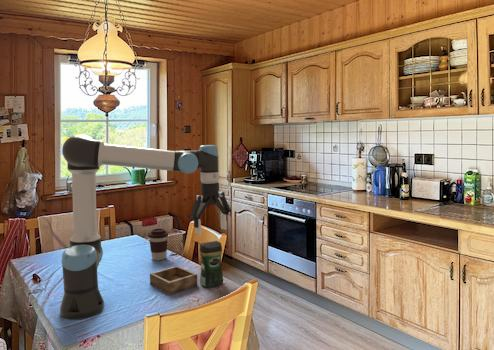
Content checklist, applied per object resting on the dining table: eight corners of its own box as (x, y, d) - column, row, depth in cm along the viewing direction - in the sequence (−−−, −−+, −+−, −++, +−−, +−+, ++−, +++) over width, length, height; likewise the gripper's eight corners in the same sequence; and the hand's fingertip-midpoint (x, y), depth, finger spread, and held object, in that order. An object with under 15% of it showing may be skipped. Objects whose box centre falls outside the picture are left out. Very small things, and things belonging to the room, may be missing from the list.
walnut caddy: (169, 294, 167) (169, 282, 166) (150, 284, 178) (149, 273, 177) (197, 285, 177) (197, 274, 176) (177, 276, 187) (177, 265, 187)
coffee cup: (146, 257, 215) (145, 229, 213) (164, 254, 220) (163, 226, 218) (153, 262, 207) (152, 233, 205) (172, 259, 212) (171, 230, 210)
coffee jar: (217, 279, 184) (217, 238, 182) (225, 284, 177) (224, 242, 175) (197, 283, 179) (196, 241, 177) (204, 289, 172) (203, 246, 170)
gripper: (190, 186, 161) (192, 239, 164) (238, 179, 178) (239, 227, 181) (179, 184, 166) (181, 236, 169) (226, 178, 183) (227, 225, 186)
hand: (211, 232), depth 175 cm, fingers open, 13 cm apart
